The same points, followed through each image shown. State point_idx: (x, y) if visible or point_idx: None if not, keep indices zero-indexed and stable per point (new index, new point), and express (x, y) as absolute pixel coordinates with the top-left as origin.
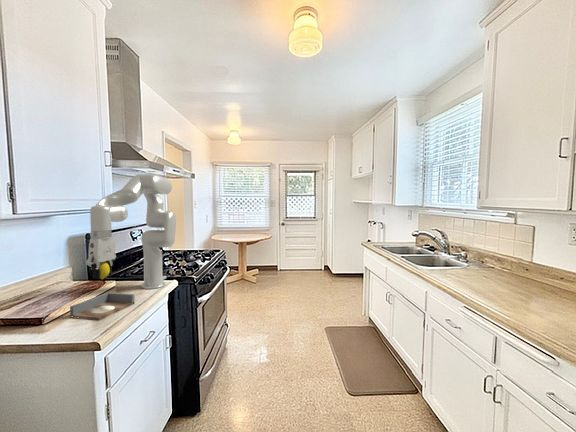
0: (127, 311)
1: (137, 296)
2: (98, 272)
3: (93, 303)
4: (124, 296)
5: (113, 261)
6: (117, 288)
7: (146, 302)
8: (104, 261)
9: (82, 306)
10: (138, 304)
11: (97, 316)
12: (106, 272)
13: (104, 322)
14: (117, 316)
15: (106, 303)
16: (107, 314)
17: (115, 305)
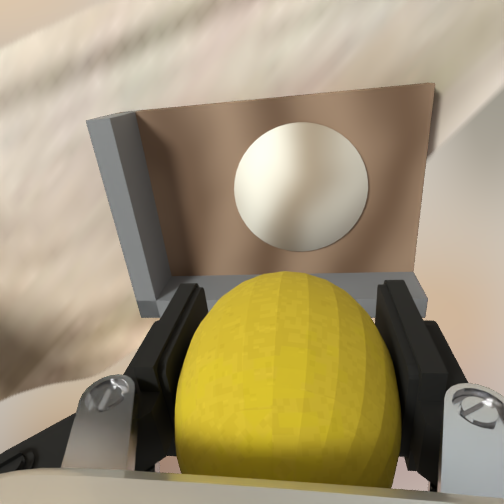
0: (247, 29)
1: (27, 202)
2: (426, 340)
3: None
4: (133, 182)
5: (20, 447)
6: (14, 383)
7: (64, 46)
8: (375, 489)
9: (355, 288)
10: (118, 71)
11: (414, 119)
12: (303, 284)
13: (466, 8)
14: (346, 16)
15: (209, 253)
16: (363, 89)
17: (217, 175)
